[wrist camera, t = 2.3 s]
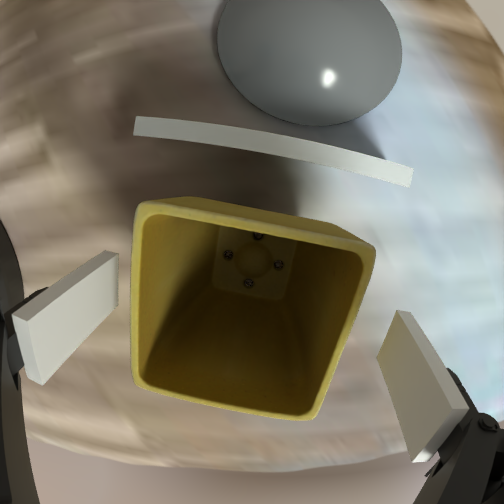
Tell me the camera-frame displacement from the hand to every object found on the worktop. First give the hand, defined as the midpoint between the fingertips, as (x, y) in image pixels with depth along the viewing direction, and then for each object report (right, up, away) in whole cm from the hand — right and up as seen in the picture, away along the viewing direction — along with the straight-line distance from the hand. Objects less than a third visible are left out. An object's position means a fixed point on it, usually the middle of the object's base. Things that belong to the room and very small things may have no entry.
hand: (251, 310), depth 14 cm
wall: (+1, +9, +4) cm, 10 cm away
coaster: (+3, +15, +2) cm, 16 cm away
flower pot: (0, +2, +7) cm, 7 cm away
